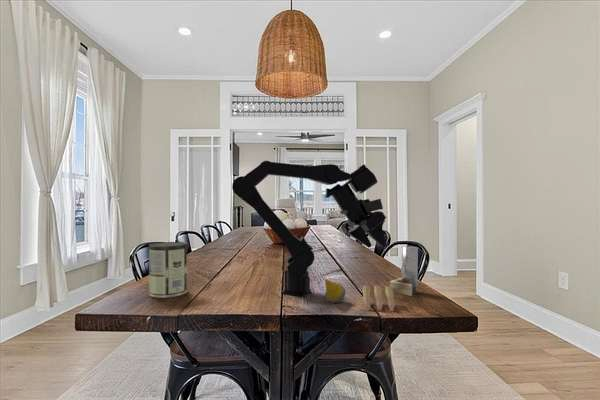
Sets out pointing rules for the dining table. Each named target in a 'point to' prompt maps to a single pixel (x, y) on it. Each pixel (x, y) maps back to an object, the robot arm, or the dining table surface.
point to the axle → (410, 267)
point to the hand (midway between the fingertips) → (377, 246)
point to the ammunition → (378, 297)
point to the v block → (401, 287)
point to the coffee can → (167, 269)
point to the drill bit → (334, 292)
